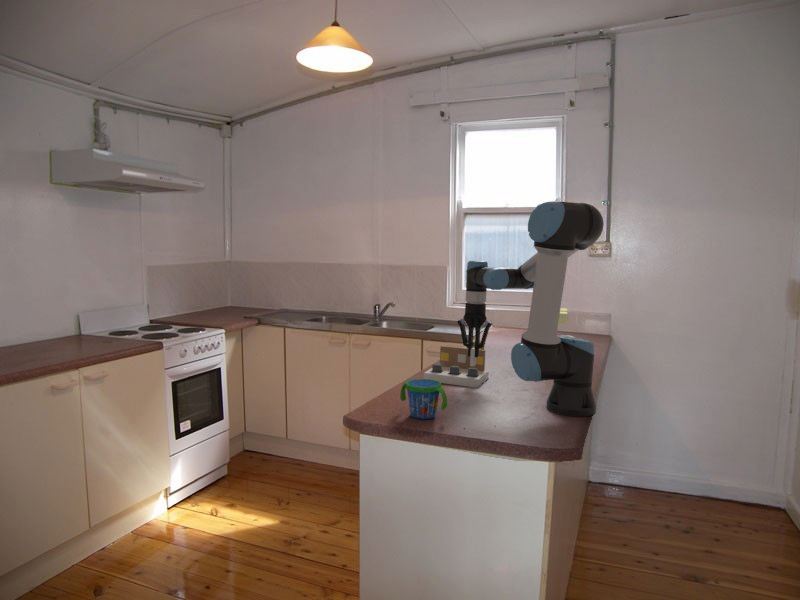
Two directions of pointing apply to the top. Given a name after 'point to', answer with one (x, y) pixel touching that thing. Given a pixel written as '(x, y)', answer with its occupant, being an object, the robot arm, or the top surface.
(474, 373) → the button right
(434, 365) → the button left
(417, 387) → the snack cup
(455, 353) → the button panel
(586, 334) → the top surface
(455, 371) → the button middle
